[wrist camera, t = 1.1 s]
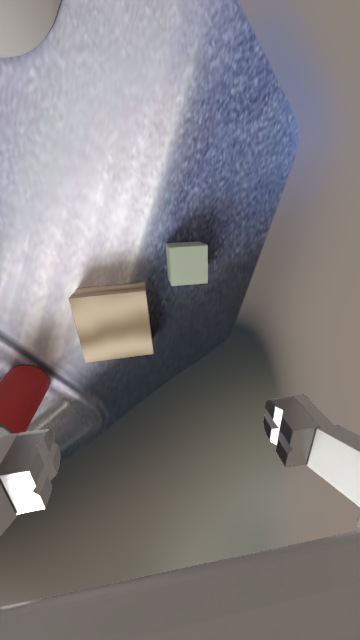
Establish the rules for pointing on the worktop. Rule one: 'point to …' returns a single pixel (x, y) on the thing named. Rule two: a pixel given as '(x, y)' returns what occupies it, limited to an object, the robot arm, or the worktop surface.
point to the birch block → (112, 321)
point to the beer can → (21, 397)
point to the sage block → (187, 263)
